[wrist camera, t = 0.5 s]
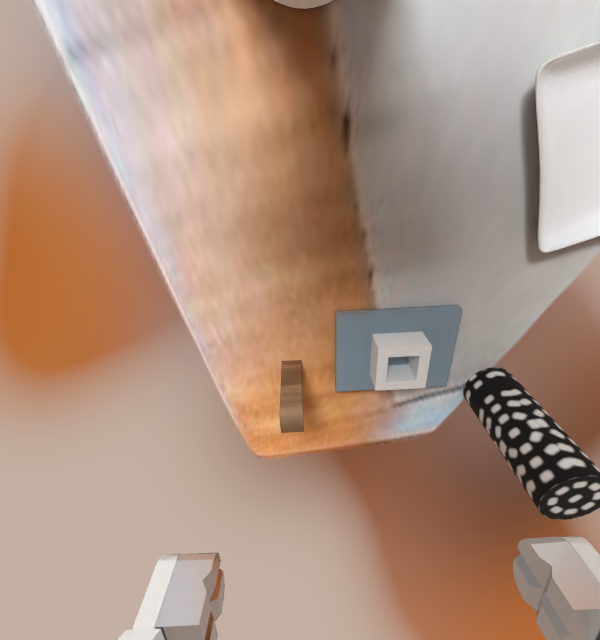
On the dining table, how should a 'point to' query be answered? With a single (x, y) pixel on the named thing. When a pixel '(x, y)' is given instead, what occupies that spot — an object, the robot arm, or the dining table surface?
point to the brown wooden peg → (291, 397)
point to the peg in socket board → (395, 347)
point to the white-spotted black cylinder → (534, 446)
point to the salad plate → (569, 148)
